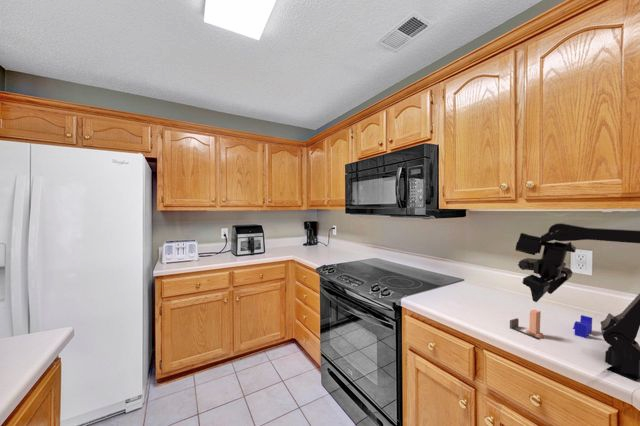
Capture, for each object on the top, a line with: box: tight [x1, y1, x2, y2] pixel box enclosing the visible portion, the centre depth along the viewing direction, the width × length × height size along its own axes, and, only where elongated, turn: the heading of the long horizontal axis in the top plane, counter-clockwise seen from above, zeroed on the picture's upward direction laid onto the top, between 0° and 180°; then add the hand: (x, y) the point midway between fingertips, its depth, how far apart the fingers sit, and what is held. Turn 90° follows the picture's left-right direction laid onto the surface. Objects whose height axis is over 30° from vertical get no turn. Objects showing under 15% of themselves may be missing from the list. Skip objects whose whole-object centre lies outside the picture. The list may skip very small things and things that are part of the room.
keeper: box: [525, 309, 544, 339], centre depth 96 cm, size 4×3×9 cm
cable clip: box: [572, 314, 593, 339], centre depth 99 cm, size 12×4×6 cm, turn 127°
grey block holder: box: [509, 317, 540, 340], centre depth 98 cm, size 10×5×4 cm, turn 24°
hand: (542, 297), depth 93 cm, fingers open, 9 cm apart
